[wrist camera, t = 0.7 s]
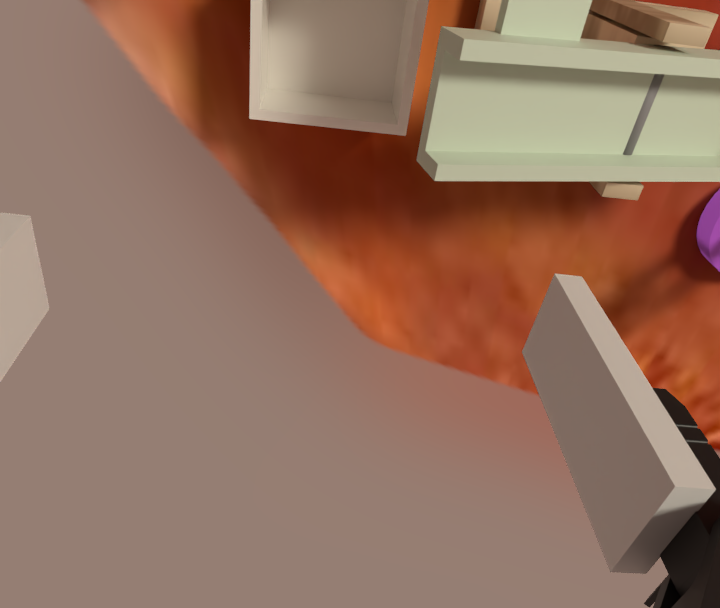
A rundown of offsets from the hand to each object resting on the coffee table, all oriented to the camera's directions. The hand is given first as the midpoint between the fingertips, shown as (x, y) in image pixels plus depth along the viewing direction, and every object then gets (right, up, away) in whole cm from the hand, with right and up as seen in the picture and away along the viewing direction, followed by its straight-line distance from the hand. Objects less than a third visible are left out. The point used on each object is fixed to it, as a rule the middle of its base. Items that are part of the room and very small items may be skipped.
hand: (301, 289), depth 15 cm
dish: (0, +16, +20) cm, 26 cm away
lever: (+16, +13, +12) cm, 24 cm away
